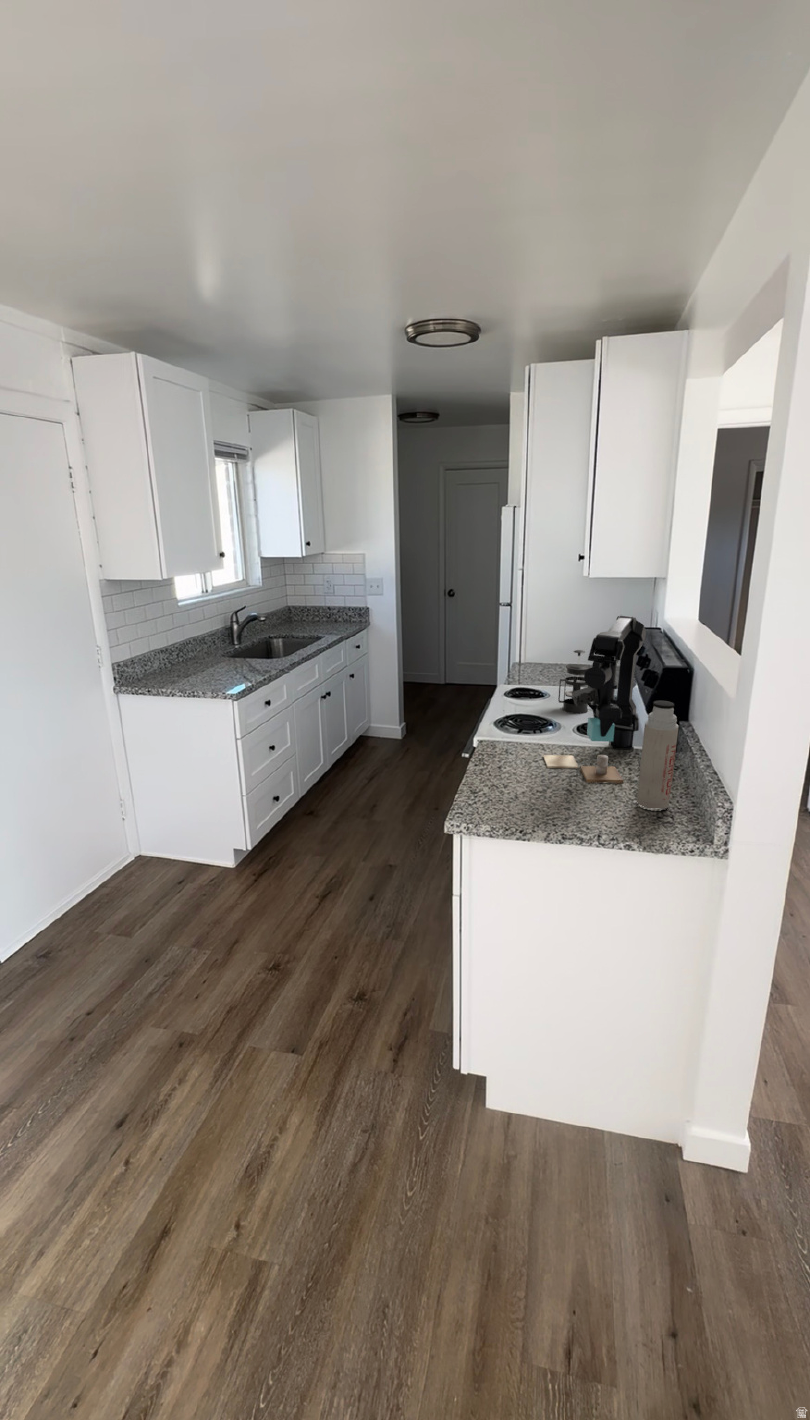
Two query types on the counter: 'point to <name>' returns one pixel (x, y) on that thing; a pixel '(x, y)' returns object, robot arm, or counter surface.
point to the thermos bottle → (658, 756)
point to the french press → (574, 686)
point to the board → (560, 761)
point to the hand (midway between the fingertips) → (600, 732)
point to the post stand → (601, 772)
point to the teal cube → (598, 731)
